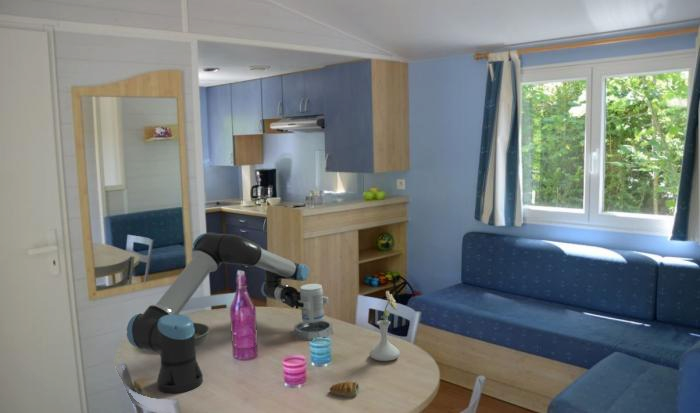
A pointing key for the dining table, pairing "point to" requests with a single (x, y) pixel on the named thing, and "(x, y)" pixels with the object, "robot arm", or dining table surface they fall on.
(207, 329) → the cake pan
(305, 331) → the grey pet bowl
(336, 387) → the pastry
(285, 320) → the dining table surface
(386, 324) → the flower in vase
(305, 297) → the supplement tub
